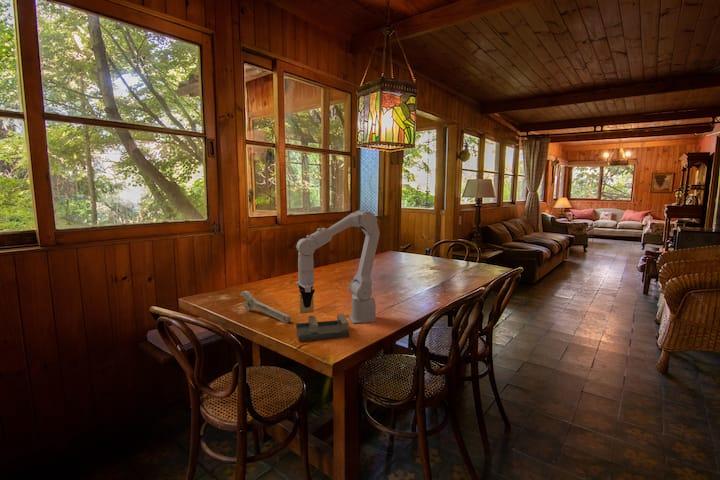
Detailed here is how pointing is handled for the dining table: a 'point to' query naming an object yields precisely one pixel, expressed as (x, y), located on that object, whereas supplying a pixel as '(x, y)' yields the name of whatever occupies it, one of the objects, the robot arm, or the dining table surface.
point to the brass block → (302, 308)
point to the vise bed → (324, 329)
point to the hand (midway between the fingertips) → (306, 305)
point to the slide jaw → (313, 324)
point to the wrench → (263, 307)
